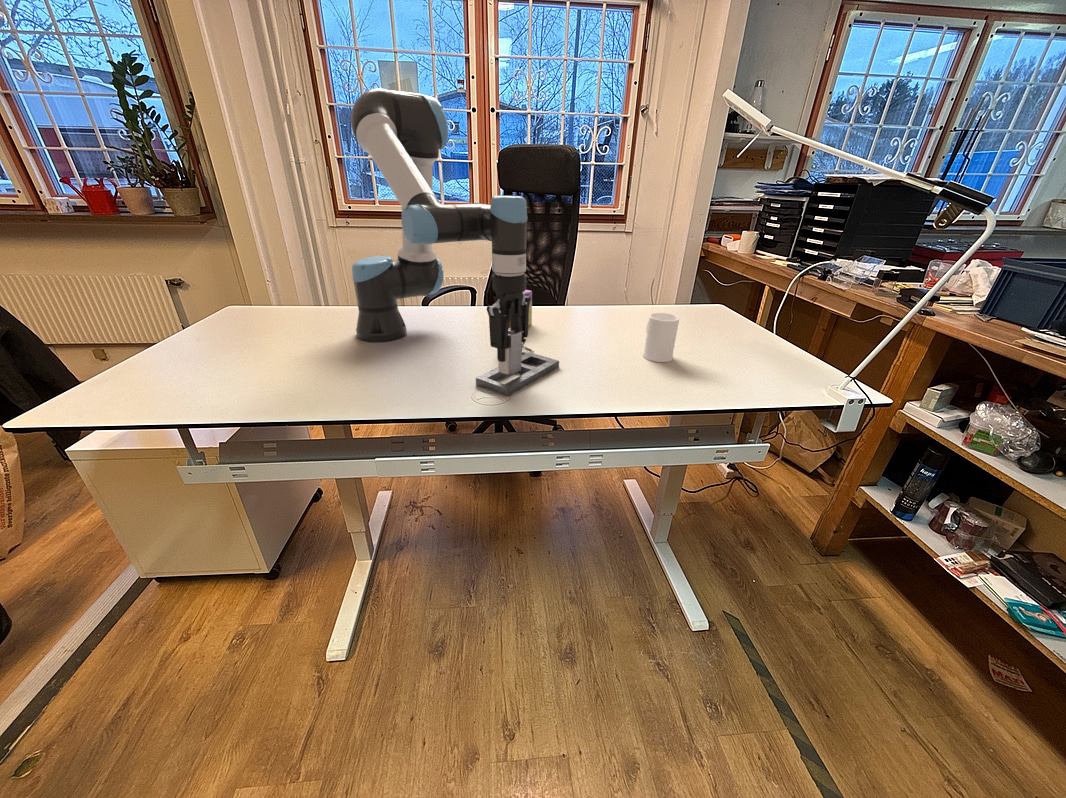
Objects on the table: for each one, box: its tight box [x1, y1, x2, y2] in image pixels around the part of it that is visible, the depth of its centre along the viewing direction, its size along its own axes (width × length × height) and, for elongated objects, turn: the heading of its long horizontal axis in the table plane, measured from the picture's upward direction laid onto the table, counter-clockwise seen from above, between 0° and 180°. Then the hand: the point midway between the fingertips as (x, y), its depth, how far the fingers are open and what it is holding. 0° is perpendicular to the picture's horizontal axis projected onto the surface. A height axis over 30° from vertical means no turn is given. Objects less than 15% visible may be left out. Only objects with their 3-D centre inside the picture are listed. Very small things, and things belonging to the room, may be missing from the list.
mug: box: [642, 312, 680, 363], centre depth 121 cm, size 12×8×12 cm
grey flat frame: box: [475, 351, 560, 397], centre depth 108 cm, size 10×22×2 cm, turn 144°
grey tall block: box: [497, 328, 523, 376], centre depth 102 cm, size 4×4×10 cm
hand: (510, 369), depth 104 cm, fingers closed on grey tall block, 4 cm apart
